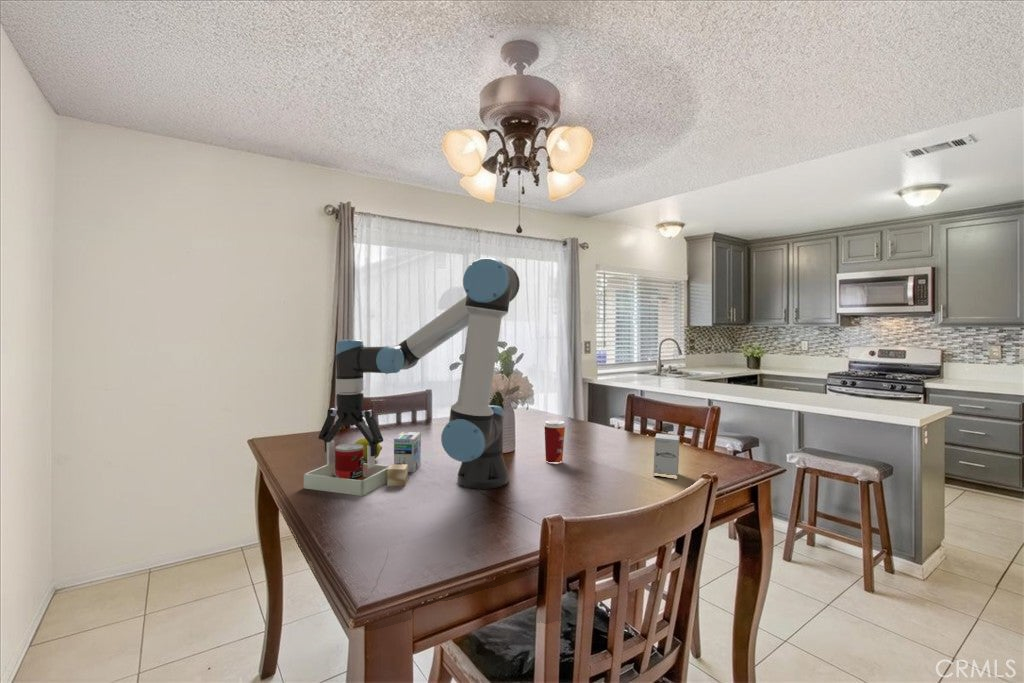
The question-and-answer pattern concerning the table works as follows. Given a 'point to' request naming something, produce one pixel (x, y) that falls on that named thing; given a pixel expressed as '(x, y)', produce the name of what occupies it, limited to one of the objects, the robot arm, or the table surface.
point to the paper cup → (554, 440)
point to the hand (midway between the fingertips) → (350, 465)
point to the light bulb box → (408, 450)
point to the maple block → (397, 475)
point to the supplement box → (666, 454)
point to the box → (346, 480)
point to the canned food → (349, 461)
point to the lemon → (365, 444)
